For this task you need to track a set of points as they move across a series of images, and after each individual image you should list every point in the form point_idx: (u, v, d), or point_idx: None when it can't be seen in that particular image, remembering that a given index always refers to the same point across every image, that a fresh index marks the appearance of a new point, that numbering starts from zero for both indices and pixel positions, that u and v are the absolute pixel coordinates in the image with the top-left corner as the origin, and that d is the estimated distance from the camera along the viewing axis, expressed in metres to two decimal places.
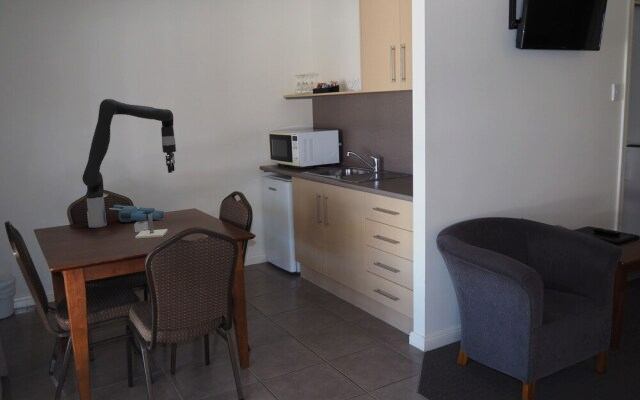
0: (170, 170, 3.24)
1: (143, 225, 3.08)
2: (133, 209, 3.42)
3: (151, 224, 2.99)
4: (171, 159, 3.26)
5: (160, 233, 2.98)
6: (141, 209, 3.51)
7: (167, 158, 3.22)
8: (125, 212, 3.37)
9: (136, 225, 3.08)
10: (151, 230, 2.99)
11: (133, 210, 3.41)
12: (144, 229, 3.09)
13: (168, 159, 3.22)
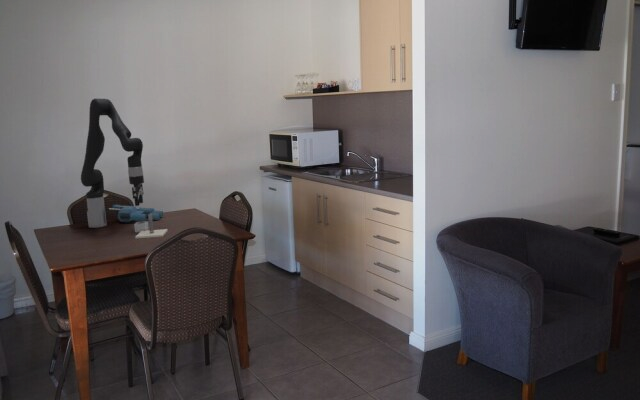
0: (137, 203, 3.04)
1: (143, 225, 3.08)
2: (132, 209, 3.42)
3: (151, 224, 2.99)
4: (138, 191, 3.05)
5: (160, 233, 2.98)
6: (140, 209, 3.51)
7: (134, 190, 3.01)
8: (124, 212, 3.37)
9: (136, 225, 3.08)
10: (151, 230, 2.99)
11: (132, 210, 3.41)
12: (144, 229, 3.09)
13: (135, 192, 3.01)
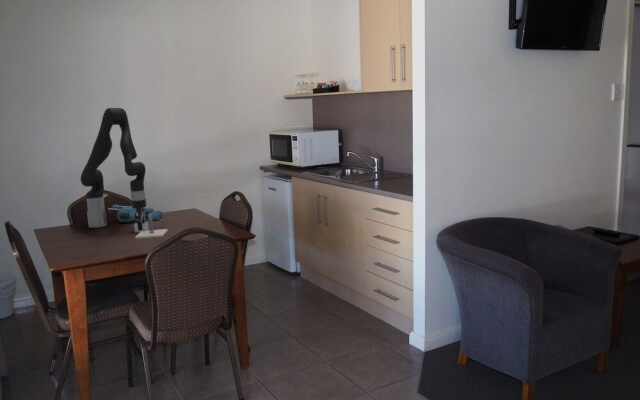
0: (140, 228, 3.07)
1: (143, 225, 3.08)
2: (132, 209, 3.42)
3: (151, 224, 2.99)
4: (141, 215, 3.08)
5: (160, 233, 2.98)
6: None
7: (136, 216, 3.04)
8: (124, 212, 3.37)
9: (136, 225, 3.08)
10: (151, 230, 2.99)
11: (132, 210, 3.41)
12: (144, 229, 3.09)
13: (137, 217, 3.04)
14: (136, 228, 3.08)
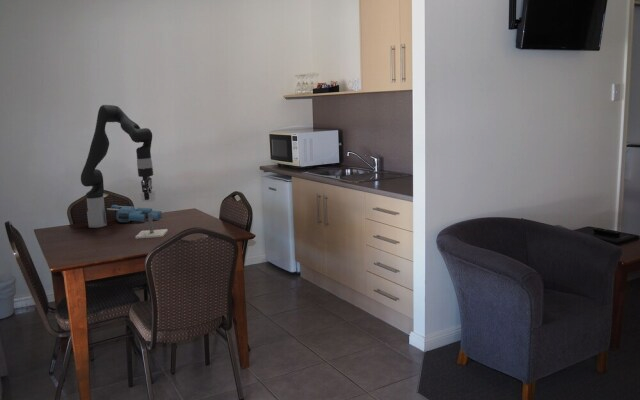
0: (147, 197, 2.93)
1: (150, 194, 2.94)
2: (131, 209, 3.42)
3: (151, 224, 2.99)
4: (148, 184, 2.94)
5: (160, 233, 2.98)
6: (139, 209, 3.51)
7: (143, 184, 2.90)
8: (123, 212, 3.36)
9: (143, 194, 2.94)
10: (151, 230, 2.99)
11: (131, 210, 3.40)
12: (151, 199, 2.95)
13: (144, 185, 2.90)
14: (143, 198, 2.94)
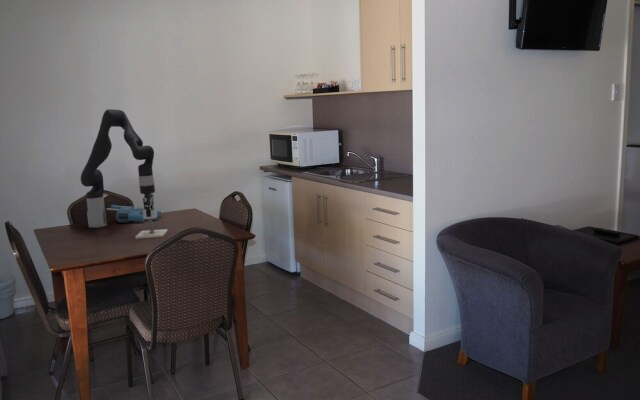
0: (149, 214, 2.95)
1: (152, 211, 2.96)
2: (130, 209, 3.41)
3: (151, 224, 2.99)
4: (149, 201, 2.95)
5: (160, 233, 2.98)
6: (138, 209, 3.51)
7: (145, 202, 2.91)
8: (122, 212, 3.36)
9: (144, 211, 2.95)
10: (151, 230, 2.99)
11: (130, 210, 3.40)
12: (153, 216, 2.96)
13: (146, 203, 2.91)
14: (144, 214, 2.96)
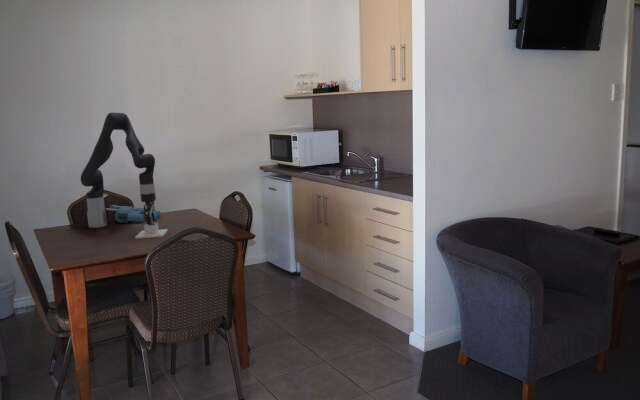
0: (149, 221, 2.94)
1: (153, 227, 2.97)
2: (130, 209, 3.41)
3: (151, 224, 2.99)
4: (150, 209, 2.95)
5: (160, 233, 2.98)
6: (138, 209, 3.50)
7: (145, 209, 2.91)
8: (122, 212, 3.36)
9: (146, 227, 2.97)
10: None
11: (130, 210, 3.40)
12: (154, 231, 2.98)
13: (146, 210, 2.91)
14: (146, 230, 2.97)
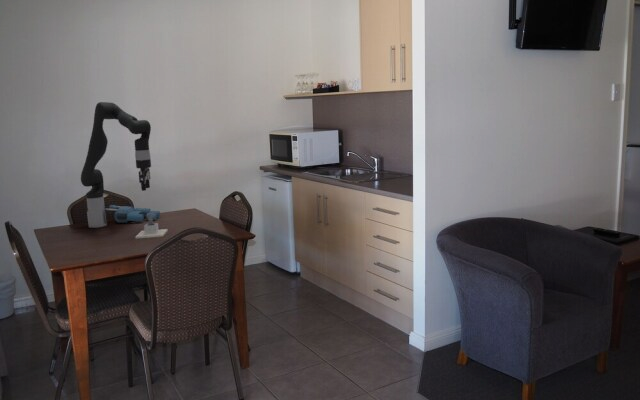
0: (144, 188, 2.94)
1: (153, 227, 2.97)
2: (129, 209, 3.41)
3: (151, 224, 2.99)
4: (145, 175, 2.95)
5: (160, 233, 2.98)
6: (137, 209, 3.50)
7: (140, 175, 2.91)
8: (121, 212, 3.36)
9: (146, 227, 2.97)
10: None
11: (129, 210, 3.40)
12: (154, 231, 2.98)
13: (141, 176, 2.91)
14: (146, 230, 2.97)
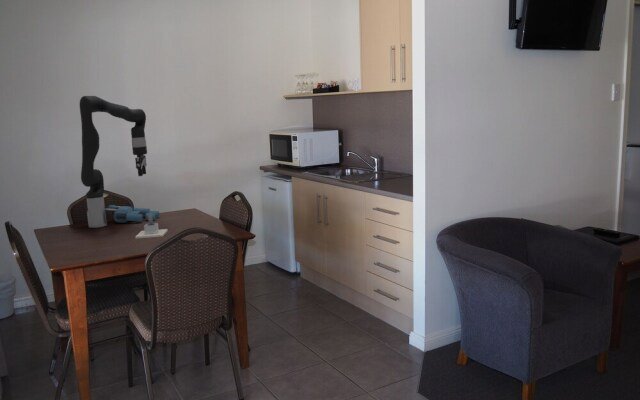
0: (140, 173, 3.08)
1: (153, 227, 2.97)
2: (128, 209, 3.41)
3: (151, 224, 2.99)
4: (142, 162, 3.09)
5: (160, 233, 2.98)
6: (136, 209, 3.50)
7: (137, 161, 3.05)
8: (120, 212, 3.36)
9: (146, 227, 2.97)
10: None
11: (128, 210, 3.40)
12: (154, 231, 2.98)
13: (138, 162, 3.05)
14: (146, 230, 2.97)
